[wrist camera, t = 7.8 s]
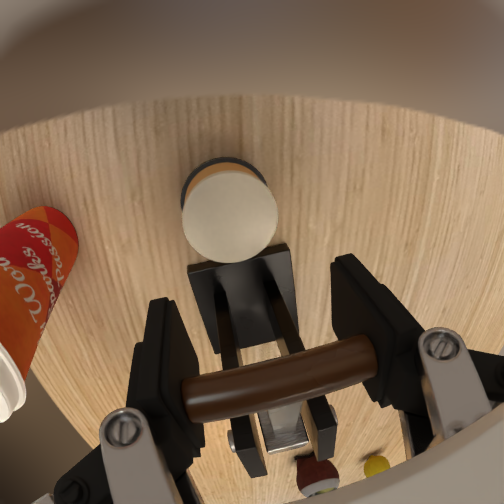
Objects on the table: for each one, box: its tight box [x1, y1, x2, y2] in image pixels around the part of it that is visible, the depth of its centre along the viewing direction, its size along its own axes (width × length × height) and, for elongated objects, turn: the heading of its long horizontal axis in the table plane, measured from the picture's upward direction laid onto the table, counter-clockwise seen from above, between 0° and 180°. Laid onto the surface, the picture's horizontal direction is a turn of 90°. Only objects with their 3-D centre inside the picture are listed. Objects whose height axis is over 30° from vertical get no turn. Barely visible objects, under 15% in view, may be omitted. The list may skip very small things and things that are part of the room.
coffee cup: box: [0, 206, 78, 423], centre depth 14 cm, size 8×8×15 cm
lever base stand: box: [187, 244, 338, 478], centre depth 20 cm, size 9×8×15 cm
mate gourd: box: [294, 451, 340, 498], centre depth 38 cm, size 8×8×15 cm
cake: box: [181, 157, 278, 263], centre depth 20 cm, size 6×6×4 cm
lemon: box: [364, 455, 390, 478], centre depth 47 cm, size 7×6×10 cm
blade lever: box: [181, 333, 378, 455], centre depth 12 cm, size 12×5×2 cm, turn 10°
